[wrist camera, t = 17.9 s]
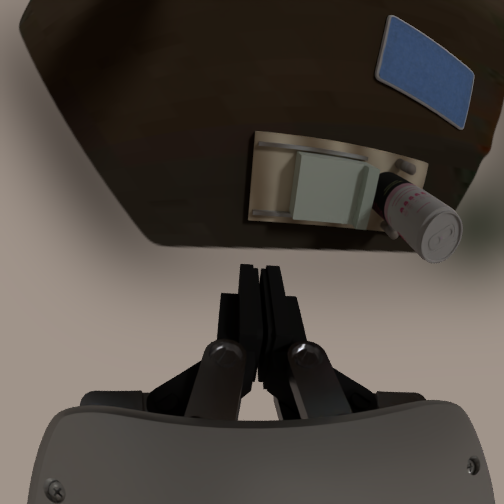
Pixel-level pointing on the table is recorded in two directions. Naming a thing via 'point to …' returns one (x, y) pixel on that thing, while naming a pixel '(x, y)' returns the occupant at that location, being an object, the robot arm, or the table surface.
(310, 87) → the table surface
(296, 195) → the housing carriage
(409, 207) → the beverage can
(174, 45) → the table surface
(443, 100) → the tablet computer
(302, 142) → the base board
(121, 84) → the table surface
